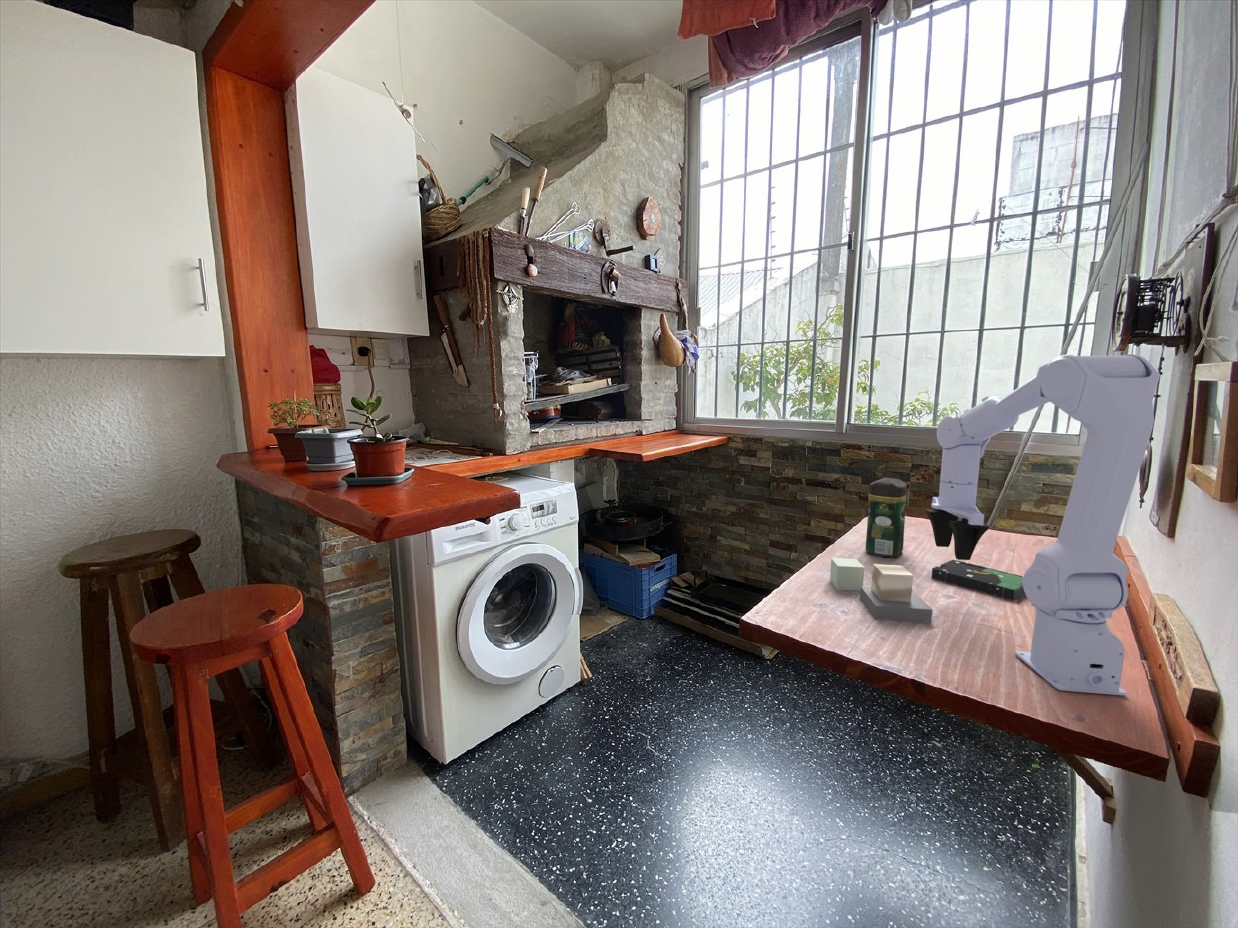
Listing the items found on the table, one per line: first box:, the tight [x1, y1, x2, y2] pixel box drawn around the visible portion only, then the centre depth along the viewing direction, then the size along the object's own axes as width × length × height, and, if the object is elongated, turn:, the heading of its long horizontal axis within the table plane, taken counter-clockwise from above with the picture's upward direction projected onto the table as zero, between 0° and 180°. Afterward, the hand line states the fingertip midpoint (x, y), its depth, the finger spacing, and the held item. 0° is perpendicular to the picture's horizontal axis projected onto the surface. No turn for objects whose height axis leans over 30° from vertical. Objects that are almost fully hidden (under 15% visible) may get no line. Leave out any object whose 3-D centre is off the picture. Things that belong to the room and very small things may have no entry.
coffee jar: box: [865, 477, 908, 558], centre depth 120 cm, size 10×8×19 cm
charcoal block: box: [859, 585, 933, 624], centre depth 89 cm, size 9×9×3 cm
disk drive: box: [931, 559, 1026, 602], centre depth 101 cm, size 10×3×15 cm
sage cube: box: [829, 557, 865, 592], centre depth 101 cm, size 5×5×5 cm
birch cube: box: [870, 563, 914, 602], centre depth 89 cm, size 5×5×5 cm
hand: (952, 552), depth 92 cm, fingers open, 7 cm apart
